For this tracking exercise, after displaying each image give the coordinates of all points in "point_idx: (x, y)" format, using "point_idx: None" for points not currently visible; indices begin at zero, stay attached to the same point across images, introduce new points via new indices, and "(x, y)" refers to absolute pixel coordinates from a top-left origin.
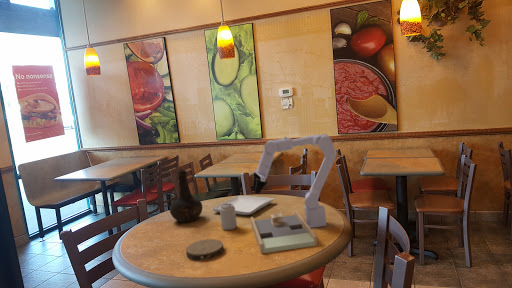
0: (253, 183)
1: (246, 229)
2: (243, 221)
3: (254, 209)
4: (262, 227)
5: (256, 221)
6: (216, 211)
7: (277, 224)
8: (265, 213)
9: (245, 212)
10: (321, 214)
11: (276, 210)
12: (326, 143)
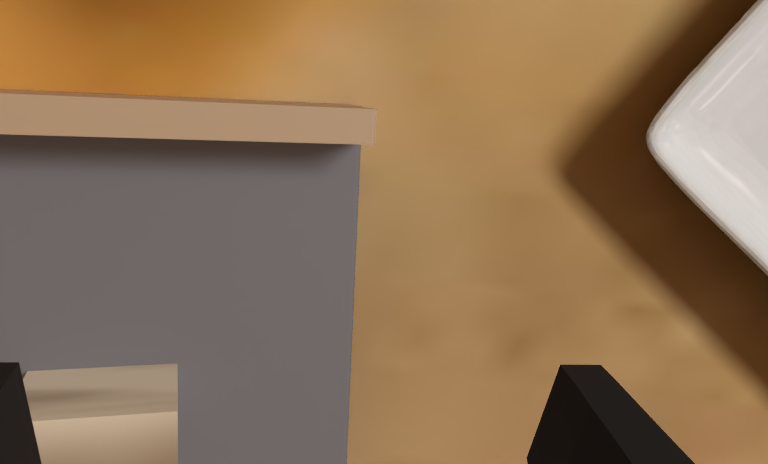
0: (648, 450)
1: (208, 14)
2: (521, 29)
3: (710, 215)
4: (26, 224)
5: (314, 179)
6: None
7: None
8: (653, 323)
9: (686, 86)
10: None
11: (682, 447)
12: None
